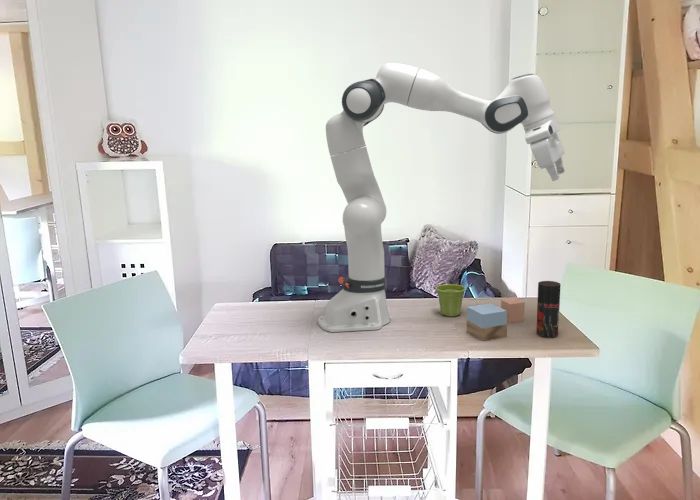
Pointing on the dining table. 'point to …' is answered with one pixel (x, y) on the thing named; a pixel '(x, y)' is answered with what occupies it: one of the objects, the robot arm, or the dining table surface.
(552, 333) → the deodorant
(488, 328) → the tower base
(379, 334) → the dining table surface
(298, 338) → the dining table surface
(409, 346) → the dining table surface
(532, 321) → the dining table surface
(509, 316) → the terracotta block
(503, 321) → the tower top
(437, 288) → the plant pot
